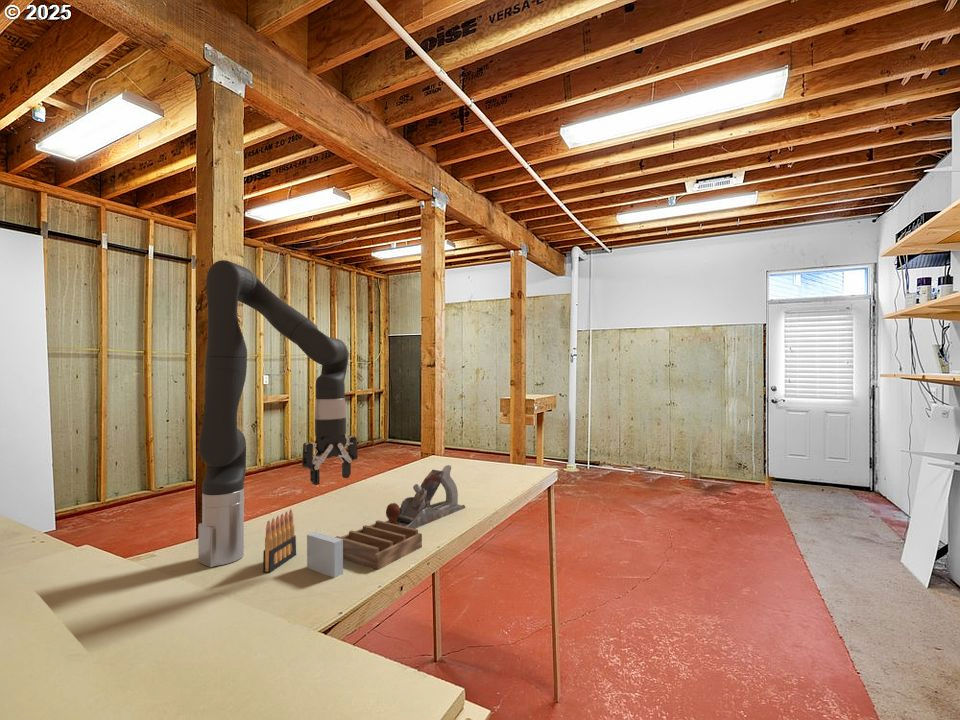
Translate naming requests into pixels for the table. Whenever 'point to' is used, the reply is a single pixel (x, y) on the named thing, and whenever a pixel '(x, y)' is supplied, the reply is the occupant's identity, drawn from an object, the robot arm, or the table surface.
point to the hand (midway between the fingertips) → (331, 481)
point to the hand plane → (426, 502)
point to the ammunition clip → (279, 542)
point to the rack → (380, 544)
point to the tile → (325, 554)
